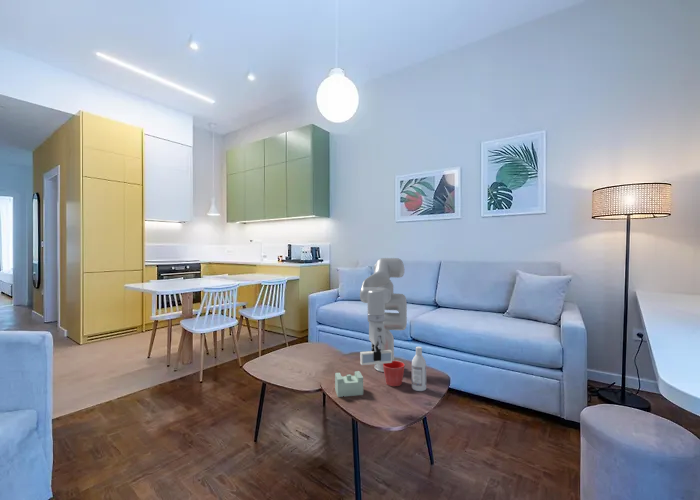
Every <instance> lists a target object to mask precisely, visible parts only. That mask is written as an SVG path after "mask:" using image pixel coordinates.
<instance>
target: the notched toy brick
mask: <svg viewBox="0 0 700 500" xmlns="http://www.w3.org/2000/svg"><path fill="white" fill-rule="evenodd" d="M334 390H335V393H336V397H337V398H340V397H341V398H342V397H343V396H344V397H352V396H353V397H354V396H363V395H364V376H363V375H362V373H361V371H359V370H357V371H354V375H352V374H346V375H345V376H342V374H341V372H335V374H334Z"/></svg>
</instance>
